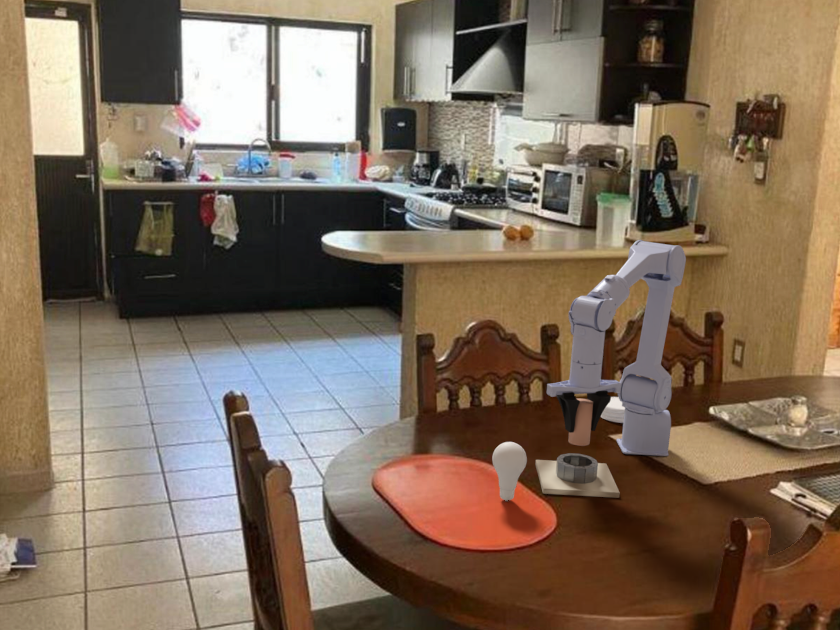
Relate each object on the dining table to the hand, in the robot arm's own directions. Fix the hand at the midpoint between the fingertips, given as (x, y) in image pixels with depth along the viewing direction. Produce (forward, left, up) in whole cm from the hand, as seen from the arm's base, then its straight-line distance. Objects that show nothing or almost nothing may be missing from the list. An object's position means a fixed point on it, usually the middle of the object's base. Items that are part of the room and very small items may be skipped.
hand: (580, 429), depth 169 cm
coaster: (-16, -40, -11) cm, 44 cm away
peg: (0, 0, -2) cm, 2 cm away
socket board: (0, 0, -10) cm, 10 cm away
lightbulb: (+14, +11, -10) cm, 21 cm away
